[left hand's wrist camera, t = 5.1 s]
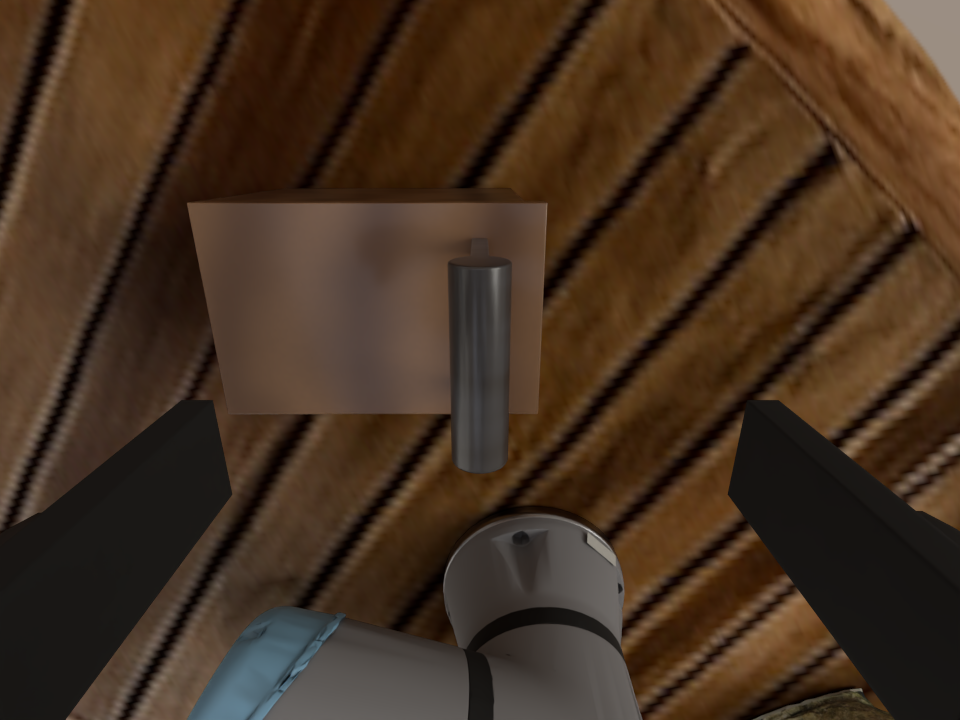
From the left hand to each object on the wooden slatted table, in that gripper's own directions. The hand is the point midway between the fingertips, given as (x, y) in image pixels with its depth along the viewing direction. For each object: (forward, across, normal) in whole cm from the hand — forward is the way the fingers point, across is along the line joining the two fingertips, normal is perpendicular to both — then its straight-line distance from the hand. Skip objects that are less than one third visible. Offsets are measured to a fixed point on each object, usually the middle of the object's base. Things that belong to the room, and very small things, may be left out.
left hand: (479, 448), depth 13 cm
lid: (+13, +5, 0) cm, 14 cm away
